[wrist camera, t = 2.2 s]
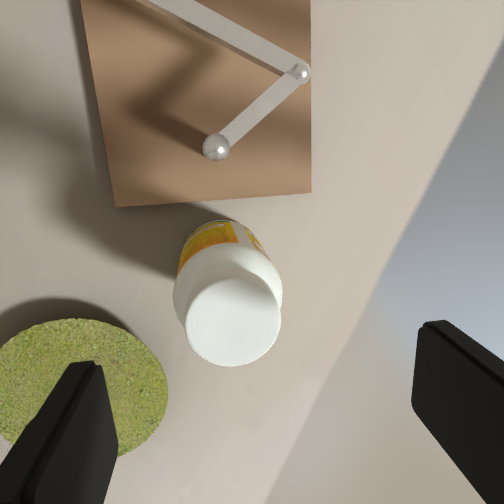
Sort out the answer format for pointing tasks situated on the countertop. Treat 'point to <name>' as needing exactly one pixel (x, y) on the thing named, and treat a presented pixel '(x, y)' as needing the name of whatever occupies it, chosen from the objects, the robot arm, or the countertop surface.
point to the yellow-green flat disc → (75, 350)
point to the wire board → (196, 103)
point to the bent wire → (248, 46)
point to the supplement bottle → (227, 294)
